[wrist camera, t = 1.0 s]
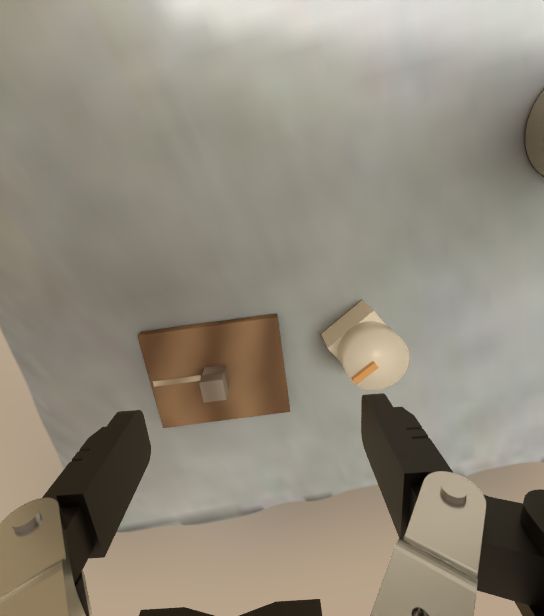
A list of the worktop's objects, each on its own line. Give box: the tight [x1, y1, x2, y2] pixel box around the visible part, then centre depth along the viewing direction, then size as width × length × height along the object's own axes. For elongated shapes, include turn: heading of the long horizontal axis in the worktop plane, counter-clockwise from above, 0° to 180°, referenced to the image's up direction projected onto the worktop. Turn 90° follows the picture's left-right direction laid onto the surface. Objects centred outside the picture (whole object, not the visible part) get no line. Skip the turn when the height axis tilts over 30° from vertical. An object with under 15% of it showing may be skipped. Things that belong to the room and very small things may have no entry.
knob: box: [321, 300, 409, 390], centre depth 30 cm, size 6×6×6 cm
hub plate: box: [137, 314, 290, 428], centre depth 32 cm, size 14×11×4 cm
